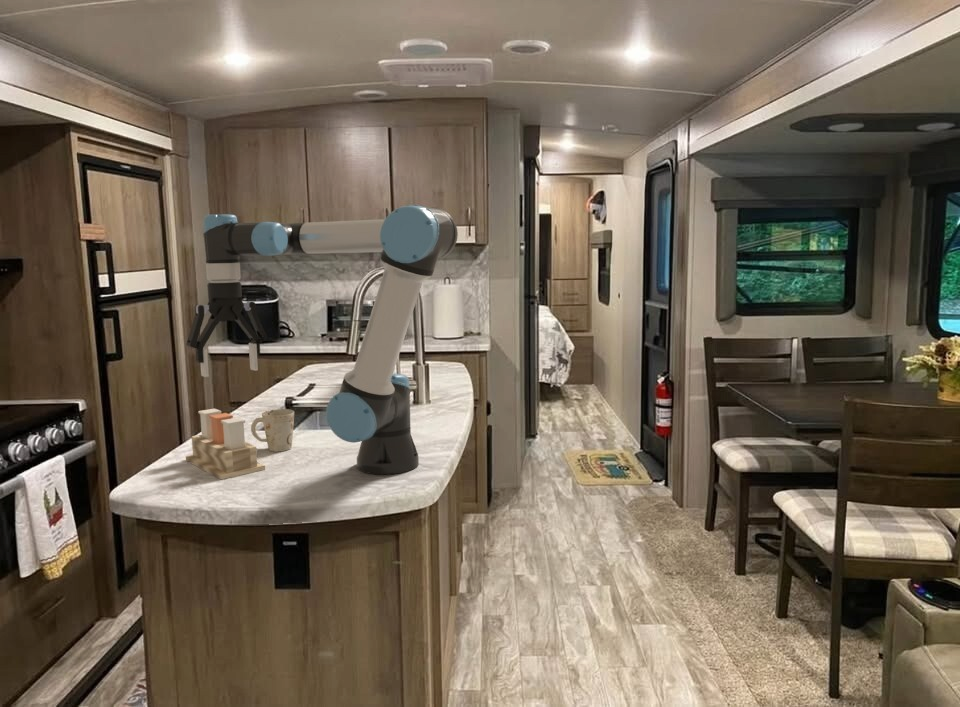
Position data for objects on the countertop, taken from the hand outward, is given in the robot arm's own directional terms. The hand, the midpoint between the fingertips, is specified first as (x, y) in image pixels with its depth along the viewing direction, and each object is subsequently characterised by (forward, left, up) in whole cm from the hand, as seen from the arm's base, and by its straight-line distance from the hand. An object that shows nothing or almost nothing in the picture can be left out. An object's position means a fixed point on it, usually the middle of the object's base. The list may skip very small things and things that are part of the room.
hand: (230, 373), depth 178 cm
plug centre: (+7, 0, -19) cm, 20 cm away
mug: (+12, -16, -24) cm, 31 cm away
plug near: (0, 0, -19) cm, 19 cm away
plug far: (+14, 0, -19) cm, 24 cm away
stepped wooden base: (+7, 0, -24) cm, 25 cm away
